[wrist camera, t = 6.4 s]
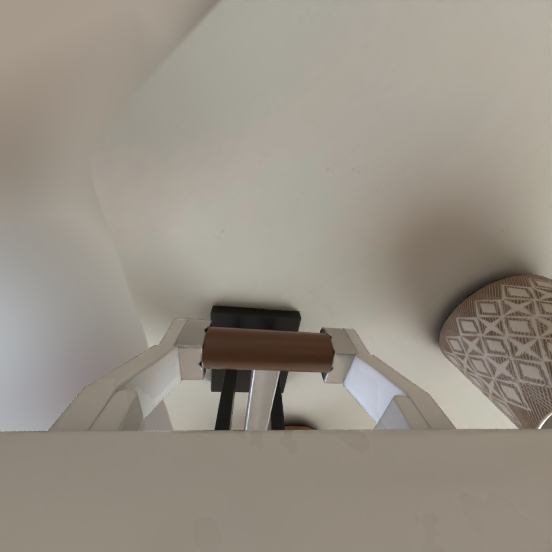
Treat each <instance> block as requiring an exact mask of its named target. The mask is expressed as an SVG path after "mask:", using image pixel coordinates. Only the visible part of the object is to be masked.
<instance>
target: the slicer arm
mask: <svg viewBox="0 0 552 552" xmlns="http://www.w3.org/2000/svg"><path fill="white" fill-rule="evenodd" d="M332 365H333V345H332V342H331V339H330V337H329V336H328V335H327V334H325V333H309V332H292V331H275V330H258V329H240V328H223V327H209V328H208V330H207V332H206V335H205V340H204V345H203V352H202V367H203V368H204V369H233V370H252V373H251V381H250V389H249V397H248V405H247V413H246V420H245V428H244V430H267V427H268V423H269V418H270V414H271V409H272V405H273V400H274V396H275V391H276V387H277V382H278V378H279V373H280V371H294V372H325V373H327V372H329V371H330V370H331V368H332Z"/></svg>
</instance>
